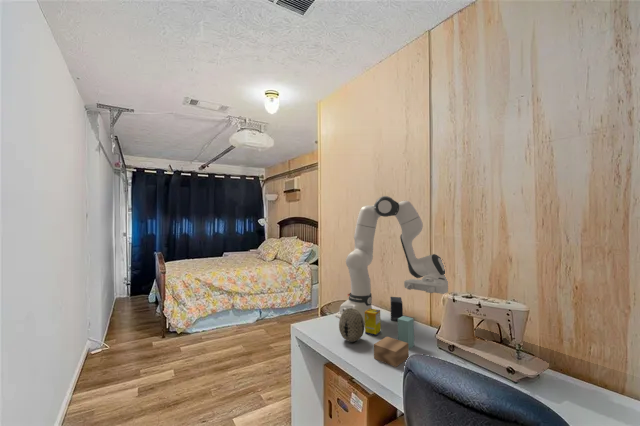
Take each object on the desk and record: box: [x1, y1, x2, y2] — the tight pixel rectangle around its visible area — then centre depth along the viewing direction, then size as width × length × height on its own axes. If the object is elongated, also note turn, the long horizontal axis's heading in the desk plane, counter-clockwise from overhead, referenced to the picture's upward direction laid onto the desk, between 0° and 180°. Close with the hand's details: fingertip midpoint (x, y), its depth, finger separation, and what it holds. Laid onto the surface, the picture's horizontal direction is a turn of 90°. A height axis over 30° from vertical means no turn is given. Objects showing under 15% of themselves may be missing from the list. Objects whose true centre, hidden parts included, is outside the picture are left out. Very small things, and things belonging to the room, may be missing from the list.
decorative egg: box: [338, 308, 365, 343], centre depth 135 cm, size 12×12×15 cm
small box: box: [390, 296, 404, 322], centre depth 163 cm, size 11×6×10 cm, turn 168°
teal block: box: [397, 315, 415, 350], centre depth 129 cm, size 5×5×12 cm
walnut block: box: [373, 336, 410, 368], centre depth 118 cm, size 10×10×6 cm
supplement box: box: [364, 308, 382, 337], centre depth 143 cm, size 6×6×11 cm
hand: (417, 289), depth 137 cm, fingers open, 8 cm apart
